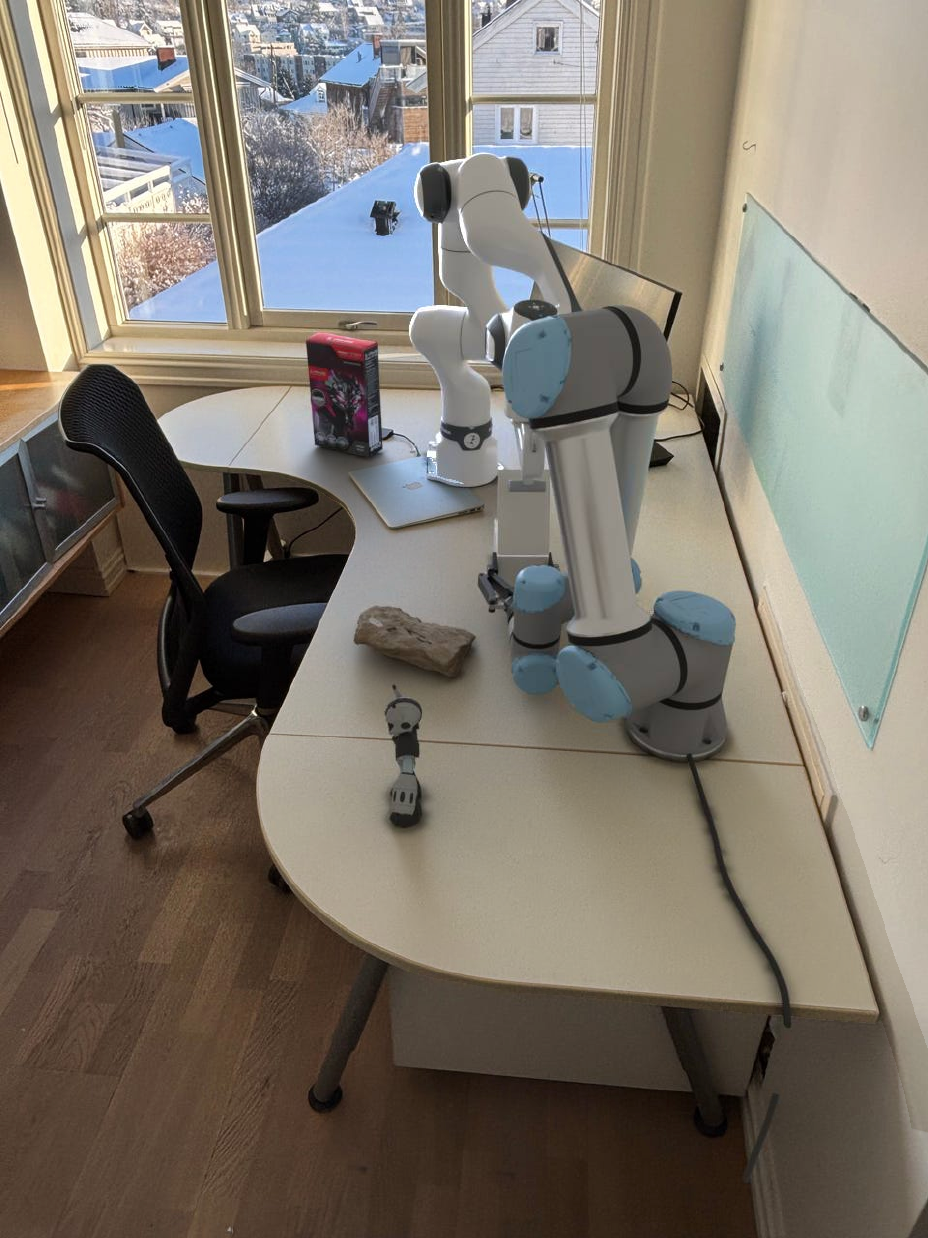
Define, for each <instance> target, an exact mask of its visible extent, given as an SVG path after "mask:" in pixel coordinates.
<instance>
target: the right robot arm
mask: <svg viewBox="0 0 928 1238" xmlns="http://www.w3.org/2000/svg"><path fill="white" fill-rule="evenodd" d="M501 372H502V373H501V374H502V376H501V377H502V386H503V391H504V396H505V395H506V398H507V401H508V402H509V403H511V404H512V406H511V408H512V410H513V411H514V412H515V413H516V414H517V415H519V416H521V417H523V418H526V419H528V420H529V425H530V430H531V432H532V433H534V434H535V435H536V436H538V437H539V438H541V439H542V440H543V441H544V443H545V455H546V458H547V464H548V470H549V471H550V483H551V488H552V492H553V498H554V499H553V500H554V503H555V505H554V506H555V510H556V515H557V522H558V526H559V533H560V538H561V543H562V544H561V545H562V549H563V555H564V562H565V566H566V567H565V568H566V571H564V572H562V571H561V568H560V565H559V564H558V563H554V561H553V555H552V551H549V563H548V566H546V565H541V566H530V567H527V568H525V569H523V570H522V571H521V572H520V573H519V574H518V576H517V578H516V584H515V587H514V586H512V587H511V586H510V585H509V584H508V583H506V582H505V581H504V580H503V579H502V578H501V577H500V576H498V562H497V552H492V557H491V558H492V559H491V562H492V563H491V564H489V563H488V564H487V565H486V573H484V572H478V573H477V587H478V589H479V591H480V593H481V594H482V596H483V598H484V600H485V602H486V603H487V605H488V613H490V614H495V613H496V610H501V611H502V610H503V611H504V613H506V618H507V620H506V621H507V629H508V630H507V631H508V641H509V646H510V659H511V660H510V661H511V674H512V677H513V681H514V684H515V686H516V687H517V689H519V690H520V691H521V692H523V693H524V694H525V693H526V694H527V695H533V696H534V695H535V696H538V695H545V694H547V693H550V692H552V691H553V690H554V689H555V688H556V687H557V686H558V684H559V685H560V688H561V690H562V691H563V694H564V695H565V697H566V698H567V700H568V701H569V703H570V704H571V705H572V706H573V707H574V709H575V710H577V712H578V713H579V714H581V715H582V716H583V717H584V718H586V719H588V720H589V721H592V722H595V723H598V724H606V723H610V722H612V721H616V720H618V719H620V718H621V719H623V718H626V719H625V728H626V732H627V734H628V736H629V738H630V739H631V741H632V742H634V744H636V745H637V746H638V747H639V748H640V749H641V750H643V751H645V752H646V753H648V754H650V755H651V756H654V757H656V758H659V759H662V760H666V761H670V762H675V763H688V765H689V768H690V772H691V774H692V778H693V781H694V783H695V787H696V791H697V794H698V796H699V800H700V803H701V806H702V809H703V812H704V815H705V818H706V822H707V825H708V828H709V831H710V833H711V834H710V835H711V838H712V843H713V846H714V853H715V857H716V861H717V865H718V868H719V872H720V874H721V877H722V880H723V882H724V885H725V887H726V889H727V891H728V894H729V895H730V898H731V900H732V902H733V903H734V905H735V907H736V909H737V910H738V913H739V914H740V916H741V918H742V920H743V922H744V924H745V925H746V927H747V929H748V931H749V932H750V934H751V936H752V938H753V939H754V940H755V942H756V943H757V945H758V946H759V949H761V951H762V953H763V954H764V956H765V957H766V960H767V961H768V964H769V965H770V967H771V969H772V971H773V973H774V976H775V979H776V981H777V984H778V987H779V991H780V997H781V1005H782V1016H783V1017H782V1020H783V1026H784V1027H785V1028H786V1029H791V1027H792V1015H791V1014H792V1013H791V1002H790V996H789V991H788V987H787V984H786V981H785V978H784V976H783V973H782V971H781V968H780V965H779V963H778V961H777V960H776V958H775V956H774V954H773V953H772V951H771V949H770V948H769V946H768V945H767V943H766V942H765V940H764V939H763V937H762V935H761V934H760V932H759V931H758V929H757V927H756V926H755V925H754V922H753V921H752V919H751V917H750V915H749V914H748V912H747V909H746V908H745V907H744V905H743V903H742V900H741V899H740V897H739V896H738V894H737V891H736V890H735V888H734V885H733V883H732V880H731V879H730V876H729V874H728V870H727V868H726V864H725V860H724V857H723V853H722V852H723V851H722V847H721V843H720V838H719V835H718V831H717V828H716V824H715V822H714V818H713V815H712V812H711V810H710V806H709V804H708V800H707V797H706V794H705V791H704V787H703V785H702V782H701V779H700V775H699V772H698V769H697V766H696V763H695V762H700V761H703V760H706V759H709V758H711V757H714V755H716V754H718V752H720V751H721V750H722V748H723V747H724V744H725V743H726V740H727V739H726V738H727V733H728V721H727V716H726V712H725V708H724V707H725V706H724V701H723V692H724V686H725V682H726V678H727V674H728V673H727V672H728V668H729V664H730V659H731V654H732V651H733V647H734V643H735V642H736V637H735V634H736V627H737V626H736V625H737V622H736V617H735V615H734V613H733V611H732V610H731V609H730V608H729V607H728V606H727V605H726V604H724V603H723V602H722V601H720V600H719V599H717V598H714V597H712V596H710V595H707V594H704V593H701V592H696V591H693V590H680V589H679V590H678V589H677V590H670V591H666V592H664V593H662V594H660V595H659V596H658V597H656V600H655V603H654V604H653V607H652V609H653V613H652V614H651V613H650V612H649V611H648V610H646V609H645V608H643V607H642V606H640V605H639V603H638V600H637V599H638V598H637V595H638V594H639V592H640V590H641V589H642V584H643V579H642V577H641V573H642V571H641V568H640V566H639V564H638V563H637V561H636V560H635V559H634V558H633V557H632V556H633V549H634V545H635V540H636V534H637V530H638V525H639V524H638V523H639V520H640V513H641V509H642V504H643V499H644V493H645V487H646V483H647V477H648V473H649V467H650V461H651V457H652V452H653V447H654V441H655V436H656V431H657V425H658V420H659V416H660V415H662V414H663V413H664V412H666V411H667V409H668V407H669V403H670V398H671V393H672V385H673V364H672V356H671V351H670V348H669V344H668V341H667V339H666V337H665V335H664V333H663V331H662V330H661V328H660V327H659V325H658V324H657V322H656V321H654V319H652V318H651V317H650V316H649V315H648V314H646V313H645V312H643V311H642V310H640V309H638V308H635V307H633V306H629V305H624V304H623V305H622V304H616V305H615V304H614V305H613V304H612V305H608V306H603V307H601V308H595V309H588V310H584V311H581V312H574V313H567V314H560V315H554V316H548V317H546V318H542V319H539V320H535V321H531V322H528V323H526V324H524V325H522V326H521V327H520V328H518V329H517V330H516V331H515V333H514V334H513V335H512V337H511V339H510V341H509V344H508V347H507V348H506V351H505V355H504V359H503V368H502V371H501ZM496 592H497V593H498V594H499V595H500V596H496ZM500 597H501V598H502V599H503V600H504V601H501V599H500ZM566 623H567V625H566V627H565V629H566V635H567V640H568V645H566V646H564V647H563V648H562V649H561V650H560V643H561V634H562V627H563V624H566ZM779 1098H780V1094H778V1093H775V1092H772V1093H771V1098H770V1101H769V1104H768V1107H767V1110H766V1113H765V1115H764V1116H765V1117H764V1120H763V1122H762V1125H761V1127H760V1130H759V1133H758V1135H757V1137H756V1141H755V1143H754V1145H753V1148H752V1150H751V1153H750V1156H749V1158H748V1161H747V1164H746V1167H745V1171H744V1173H743V1177H742V1182H743V1183H745V1184H748V1183H750V1180H751V1176H752V1175H753V1174H752V1173H753V1172H754V1171H753V1170H754V1168H755V1165H756V1162H757V1160H758V1157H759V1155H760V1152H761V1150H762V1147H763V1145H764V1142H765V1140H766V1137H767V1135H768V1132H769V1130H770V1127H771V1124H772V1121H773V1118H774V1115H775V1113H776V1109H777V1106H778V1103H779Z"/></svg>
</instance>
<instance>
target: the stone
mask: <svg viewBox="0 0 928 1238" xmlns="http://www.w3.org/2000/svg"><path fill="white" fill-rule="evenodd" d="M356 624H357V626H356V629H355V633H354V635H353V642H354V644H355V645H357V646H358V645H365V646H369V647H370V648H371V649H372V650H373V652H376V653H377V654H382V655H386V656H387V657H391V658H394V659H399V660H401V661H404V662H406V663H410V664H411V665H414V666H417V667H419V668H420V669H423V670H425V671H433V672H438V673H440V674H442V675H443V677H446V678H447V677H448V678H449V679H450V678H454V677H457V675H458V674H459V673H460V671H461V669H462V667H463V662H464V658H466V656H467V654H468V652H469V650H470V649H471V647H472V644H473V642H474V641H476V638H477V637H476V636H475V634H473V633H472V632H470V631H467V629H464V628H460V627H454V626H448V625H447V626H446V625H441V624H438V623H435V622H433V623H431V622H424V621H422V620H421V619H420V618H419V617H417V616H415V617H414V616H412V615H411V614H409V613H408V612H405V611H404V610H403V609H402V608H401V607H396V606H391V605H385V606H382V605H381V606H380V605H374V606H372V607H369V608H368V609H366V610H364V611H363V612H361V613H360V614H359V616H358V619H357V623H356Z"/></svg>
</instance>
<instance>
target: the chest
mask: <svg viewBox="0 0 928 1238" xmlns="http://www.w3.org/2000/svg"><path fill="white" fill-rule="evenodd" d="M493 520H494V521H493V547H492V548H493V550H492V551H493V552H497V535H498V518H494V519H493ZM493 552H492V553H493ZM497 562H498V576H500V577H501V578H502V579H503V580H504V581H505V582H506V583H508V584H509V585H510V586H511V587H512V586H514V587H515V584H516V578H517V576H518V574H519V573H520V572H521V571H522V570H523V569H525V568H527V567H530V566H541V565H546V566H548V563H549V555H498V554H497ZM495 593H496V596H498V597H501V596H500V595H499V594H498V593H497V592H496V591H495Z"/></svg>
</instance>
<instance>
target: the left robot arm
mask: <svg viewBox="0 0 928 1238" xmlns="http://www.w3.org/2000/svg"><path fill="white" fill-rule="evenodd" d="M531 182H532V181H531V177H530V173H529V170H528V166H527V164H525V162H524V161H523V159H522V158H520V157H516V156H511V155H504V156H503V157H501V156H500V157H499V156H498V155H496V154H494V153H489V152H479V153H475V154H472V155H470V156H469V157H467V158H460V159H454V160H448V161H444V162H438V161H435V162H431V163H428V164H425V165H423V166H422V167H421V168H420V170H419V171H418V172H417V175H416V181H415V183H414V184H415V185H414V199H415V203H416V204H415V205H416V206H417V209H418V210H419V213H420V216H421V218H423V220H425V221H426V222H428V223H432V224H438V261H439V262H438V263H439V279H440V281H441V283H442V286H443V287H444V288H445V289H446V291H448V292H449V293H450V294H452V295H453V296H455V297H457V298H458V299H459V300H460V301H462V302H463V304H464V306H465V307H464V306H453V305H441V304H440V305H432V306H431V305H430V306H425V307H420V308H419V309H418V310H417V311H415V313H414V315H412V318H411V321H410V322H409V323H410V324H409V328H408V329H409V330H408V331H409V332H408V333H409V339H410V342H411V344H412V346H413V348H414V349H415V351H416V352H418V353H419V354H420V355H421V356H423V358H425V359H426V361H427V362H428V363H429V365H430V366H431V367H432V369H433V371H434V372H435V375H436V376H437V380H438V383H439V386H440V393H441V394H440V395H441V409H442V415H441V417H440V420H439V432H438V433H437V434H436V435H435V441H429V442H428V451H427V454H426V458H427V457H432V458H430V459H432V461H433V463H436V464H435V465H436V475H438V476H440V477H443V478H445V479H446V478H447V479H452V480H456V481H459V482H462V483H464V484H460V483H453V482H449V481H446V480H443V479H441V478H437V477H432V476H428V475H427V474H426V479H428V480H431V481H437V482H440V483H443V484H445V485H448V486H453V487H459V488H460V487H461V488H470V487H471V488H472V487H479V486H480V487H481V486H483V485H486V484H489V483H491V482H493V481H494V480H495V479H496V478H497V477H498V470H505V467H504V466H503V465H502V464H501V463H500V462H499V441H498V440H497V439H496V437H495V436H493V417H492V416H491V409H492V407H491V405H492V389H491V386H490V384H489V382H488V380H486V378H485V377H484V376H483V375H481V374H480V373H478V372H476V371H475V370H474V369H473V368H472V367H471V366H470V365H469V363H468V361H474V362H484V363H490V364H491V365H492V366H494V367H495V368H496V369H498V370H499V371H501V372H502V368H503V359H504V355H505V351H506V348H507V347H508V344H509V341H510V339H511V337H512V335H513V334H514V333H515V331H516V330H517V329H518V328H520V327H521V326H522V325H524V324H526V323H528V322H531V321H535V320H539V319H542V318H546V317H548V316H554V315H560V314H567V313H574V312H581V311H585V310H584V308H583V307H582V305H581V304H580V302H579V300H578V298H577V296H576V294H575V291H574V289H573V287H572V284H571V283H570V281H569V278H568V276H567V273H566V271H565V269H564V266H563V264H562V262H561V259H560V258H559V256H558V254H557V252H556V250H555V248H554V245H553V244H552V242H551V240H550V239H549V237H548V236H547V235H546V233H544V232H542V231H541V230H539V229H538V228H537V227H535V226H534V224H532V222H531V221H530V220H529V219H528V217H527V216H526V215H525V213H524V212H523V211H524V210H525V209H526V208H527V206H528V204H529V202H530V196H531V191H532V183H531ZM494 267H498V268H502V269H507V270H510V271H514V272H516V273H520V274H523V275H524V276H526V277H529V279H532V280H533V281H534V282H535V284H536V285H537V286H538V288H539V291H540V293H541V296H542V297H543V300H542V299H532V298H531V299H523V300H520V301H518V302H516V303H515V304H514V305H512V307H511V308H510V307H509V306H508V305H507V304H506V302H505V301H504V299H503V298H502V296H501V294H500V292H499V290H498V287H497V284H496V281H495V273H494V272H495V271H494ZM511 406H512V404H511V403H509V402H508V401H507V398H506V395H505V394H504V411H503V412H504V415H505V416H506V417H507V418H508V419H509V420H511V422H510V423H511V425H512V426H513V427H514V435H515V440H516V447H517V454H518V460H519V466H520V470H521V473H522V478H523V484H524V485H532V484H533V480H534V478H541V477H543V474H544V470H545V461H546V460H545V459H546V448H545V443H544V441H543V440H542V439H541V438H539V437H538V436H536V435H535V434H534V433H532V432H531V430H530V425H529V420H528V419H526V418H523V417H521V416H519V415H517V414H516V413H515V412H514V411H513V410H512V408H511ZM434 472H435V471H429V473H434Z"/></svg>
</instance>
